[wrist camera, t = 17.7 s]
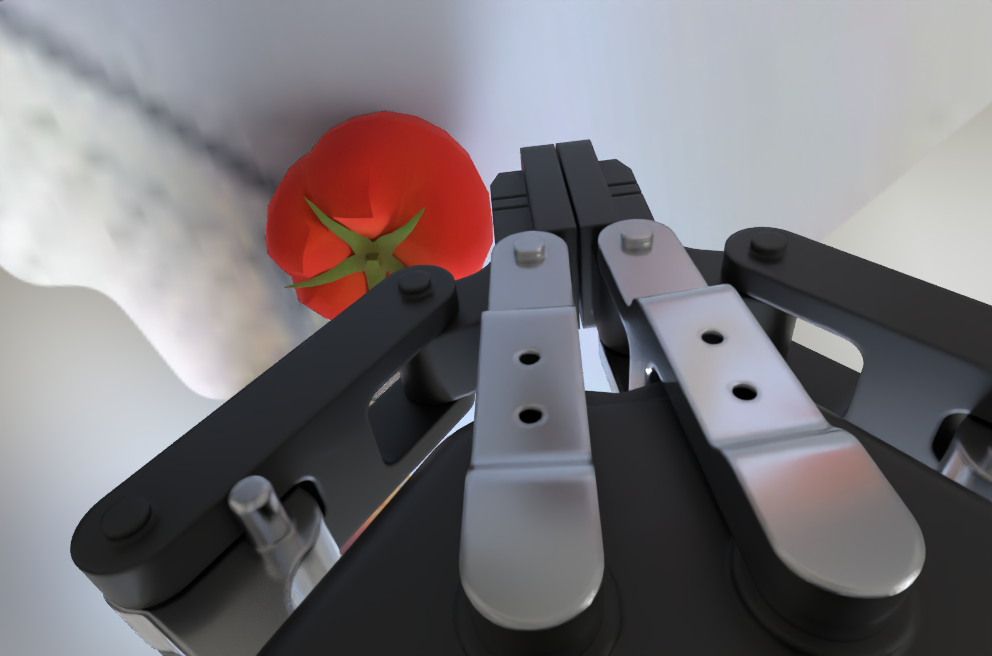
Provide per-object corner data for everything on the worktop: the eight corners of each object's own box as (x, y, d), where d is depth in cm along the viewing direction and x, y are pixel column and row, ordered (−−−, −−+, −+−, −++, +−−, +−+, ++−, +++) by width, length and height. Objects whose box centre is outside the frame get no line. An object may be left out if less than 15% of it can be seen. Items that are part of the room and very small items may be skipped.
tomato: (513, 124, 43) (527, 213, 34) (447, 288, 52) (445, 395, 43) (310, 54, 40) (268, 132, 31) (275, 242, 48) (233, 347, 39)
